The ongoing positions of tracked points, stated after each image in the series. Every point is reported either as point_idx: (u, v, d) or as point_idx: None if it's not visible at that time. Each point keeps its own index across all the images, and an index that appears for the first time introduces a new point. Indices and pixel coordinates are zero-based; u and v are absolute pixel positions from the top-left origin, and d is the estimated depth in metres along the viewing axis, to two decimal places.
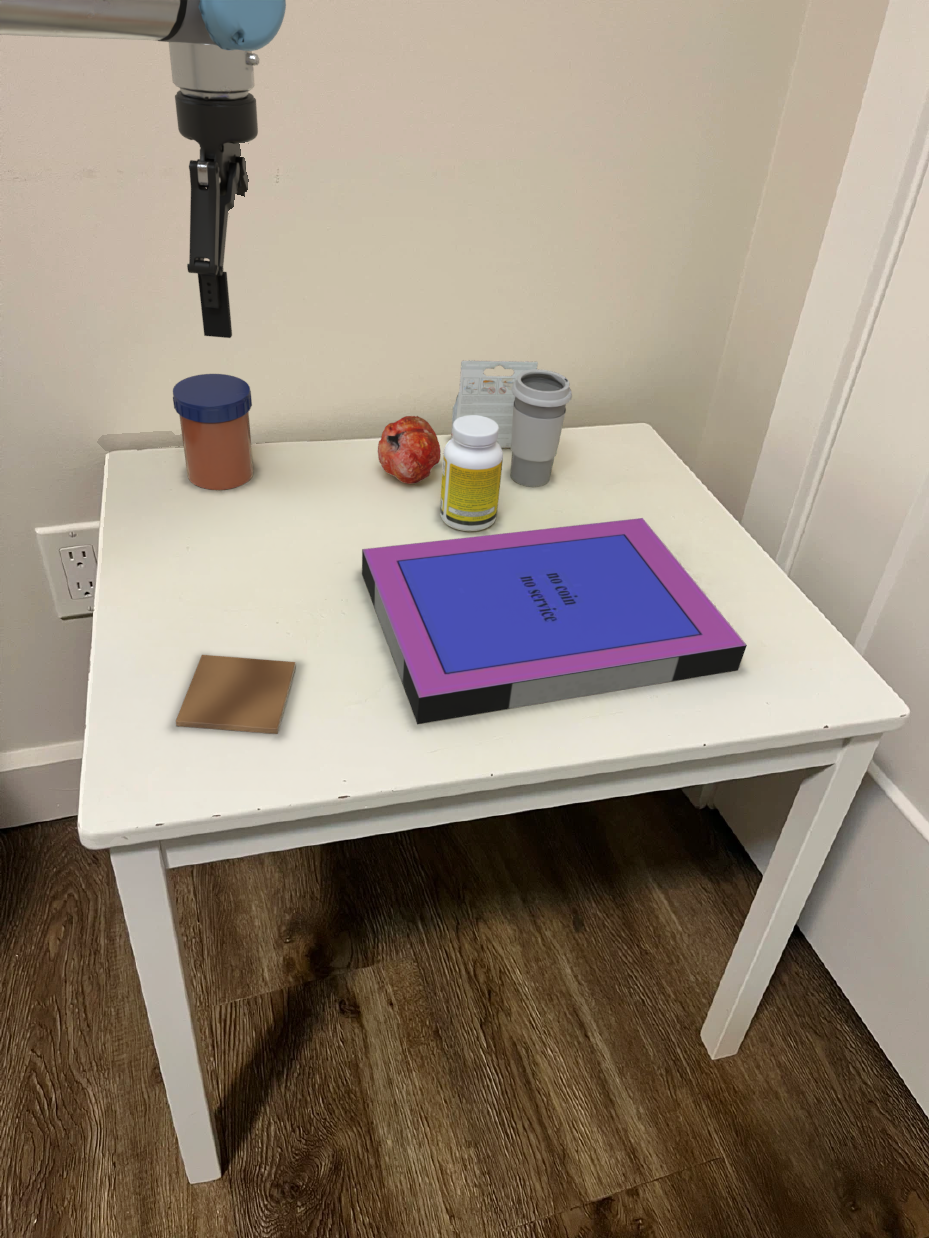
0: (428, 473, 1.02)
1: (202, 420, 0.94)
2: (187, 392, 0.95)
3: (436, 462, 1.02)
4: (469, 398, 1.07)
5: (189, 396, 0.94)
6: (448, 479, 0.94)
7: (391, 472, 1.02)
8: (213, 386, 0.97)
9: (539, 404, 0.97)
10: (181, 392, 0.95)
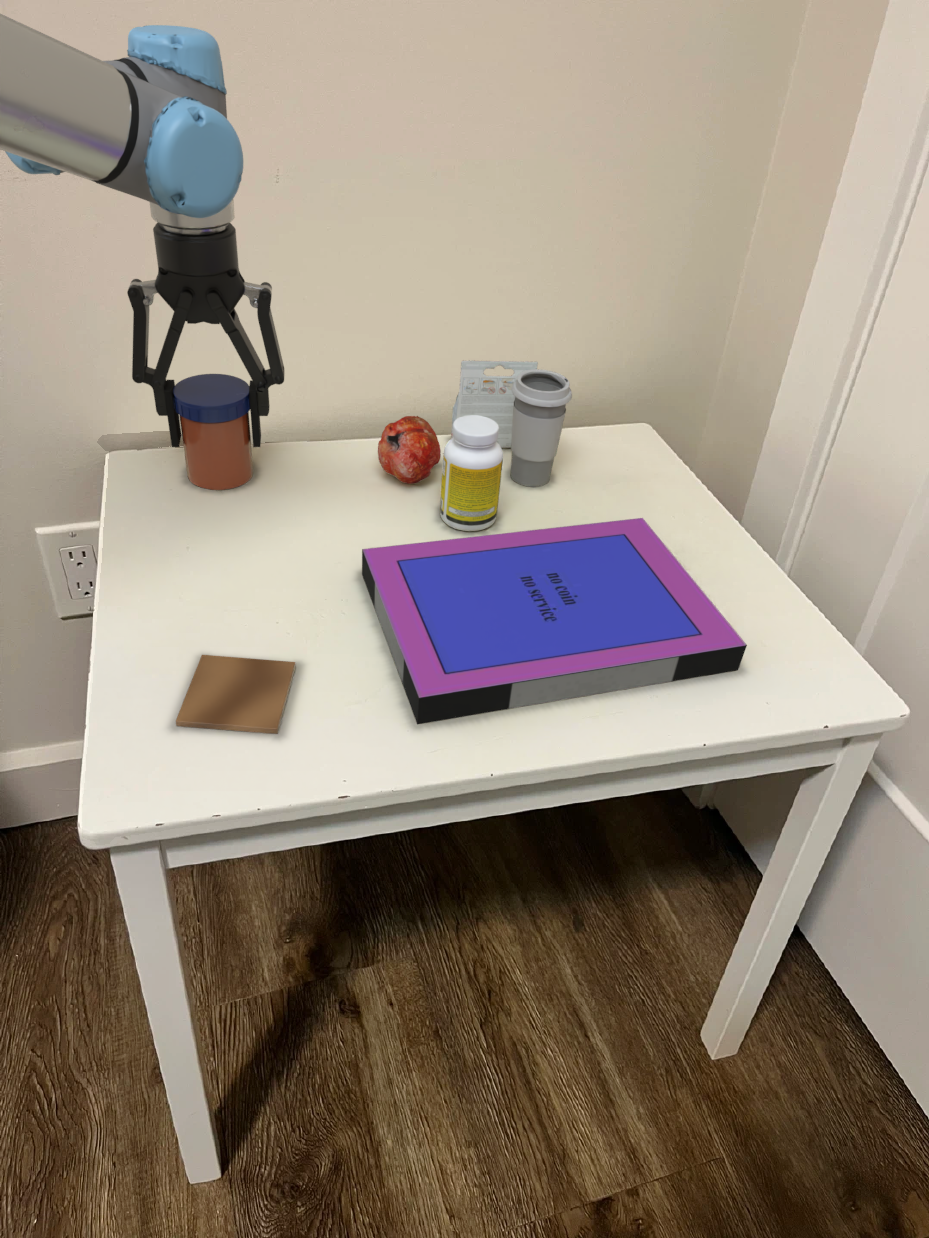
0: (428, 473, 1.02)
1: (202, 420, 0.94)
2: (187, 392, 0.95)
3: (436, 462, 1.02)
4: (469, 398, 1.07)
5: (189, 396, 0.94)
6: (448, 479, 0.94)
7: (391, 472, 1.02)
8: (213, 386, 0.97)
9: (539, 404, 0.97)
10: (181, 392, 0.95)
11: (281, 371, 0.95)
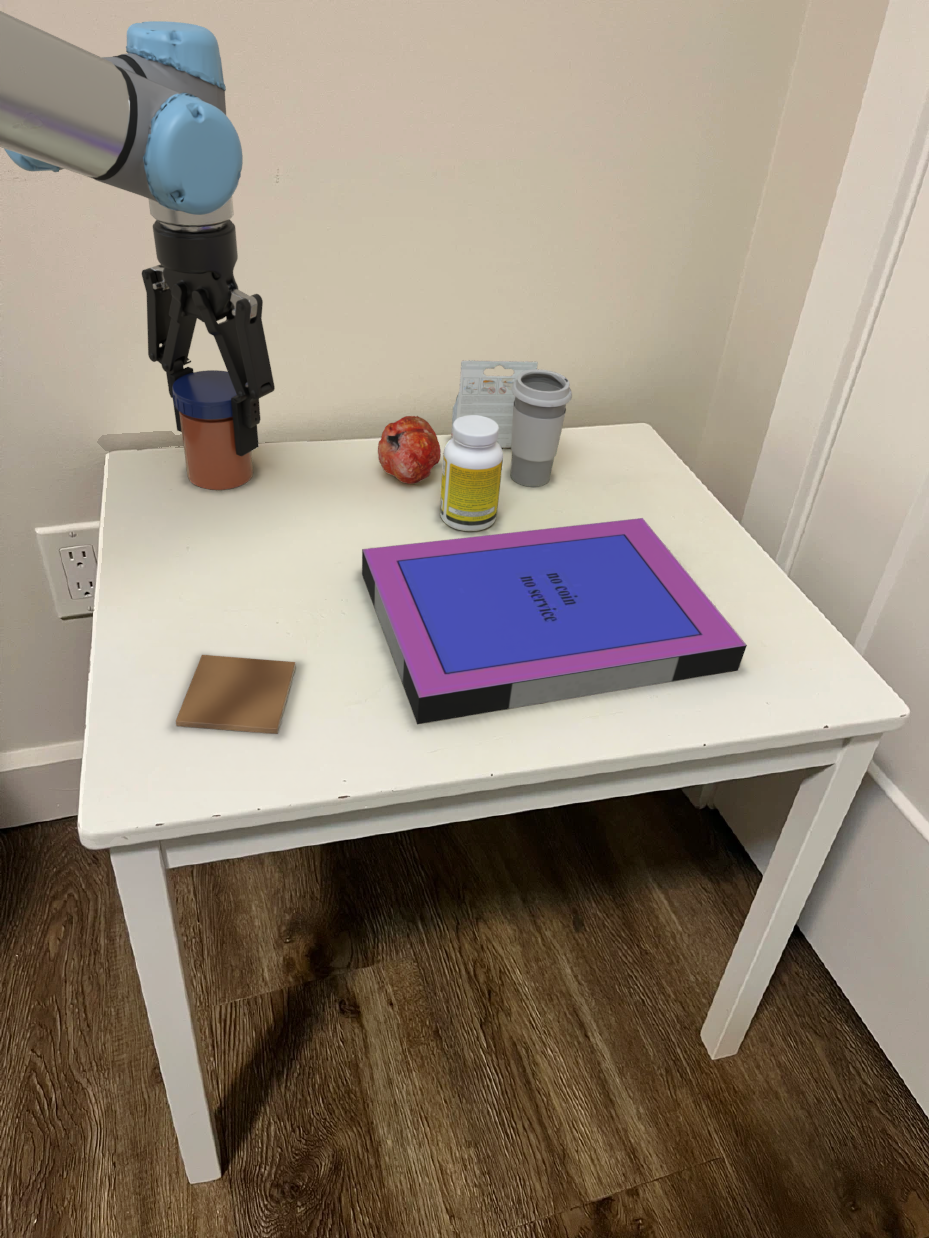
0: (428, 473, 1.02)
1: None
2: (234, 389, 0.95)
3: (436, 462, 1.02)
4: (469, 398, 1.07)
5: None
6: (448, 479, 0.94)
7: (391, 472, 1.02)
8: (205, 387, 0.95)
9: (539, 404, 0.97)
10: None
11: None
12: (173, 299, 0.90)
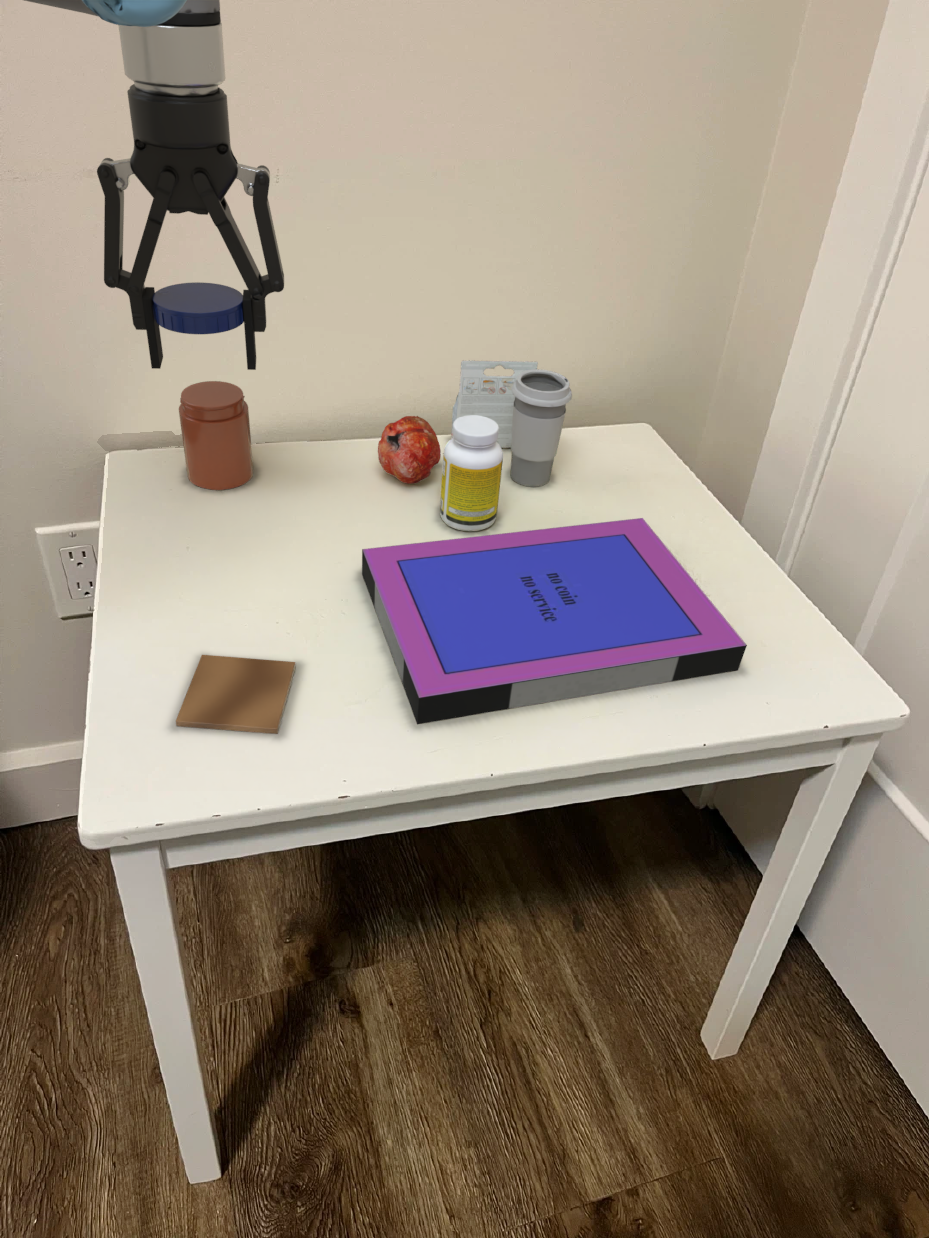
0: (428, 473, 1.02)
1: None
2: (226, 294, 0.83)
3: (436, 462, 1.02)
4: (469, 398, 1.07)
5: (223, 291, 0.83)
6: (448, 479, 0.94)
7: (391, 472, 1.02)
8: (196, 299, 0.81)
9: (539, 404, 0.97)
10: (233, 294, 0.83)
11: None
12: (157, 193, 0.74)
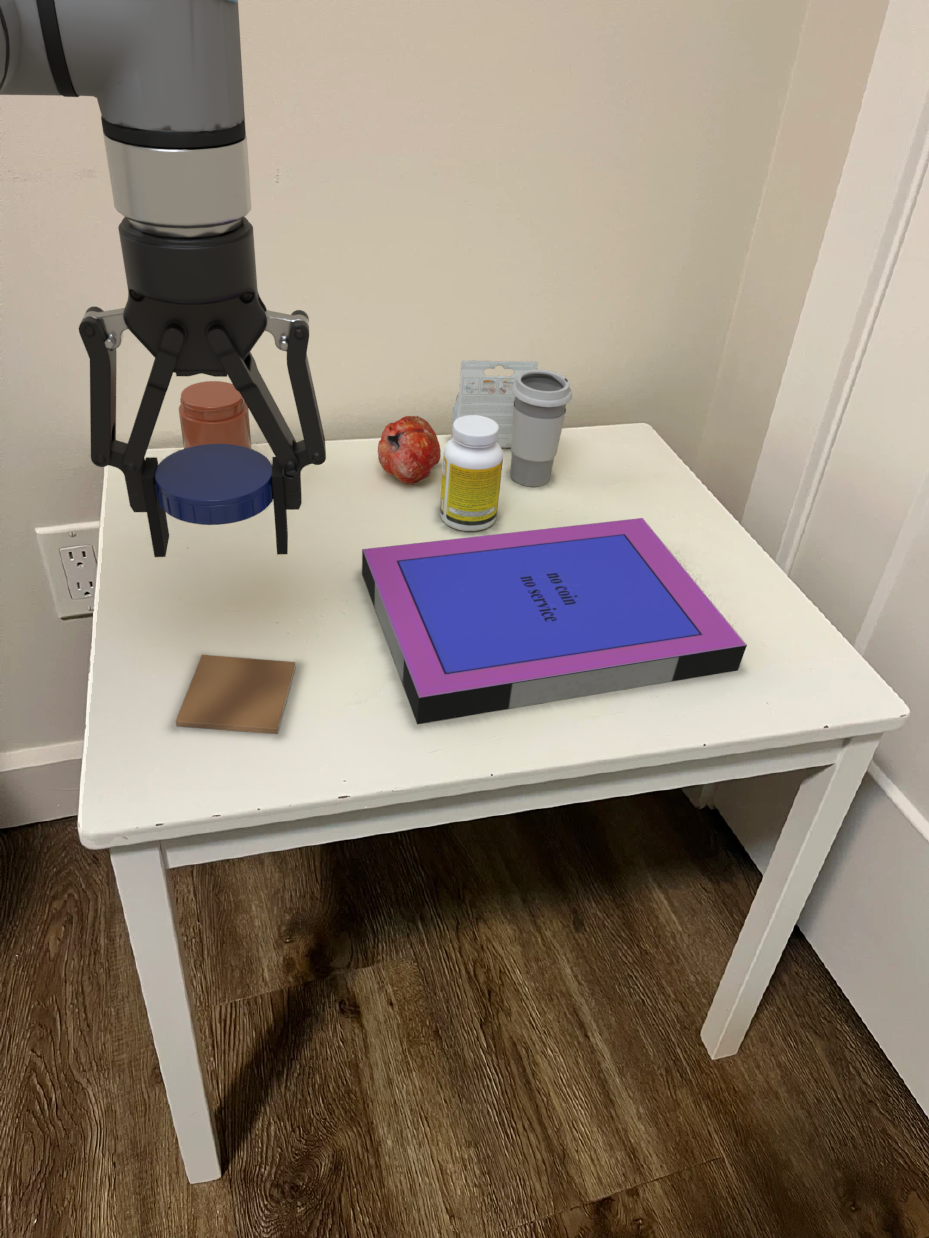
0: (428, 473, 1.02)
1: None
2: (250, 464, 0.64)
3: (436, 462, 1.02)
4: (469, 398, 1.07)
5: (246, 458, 0.64)
6: (448, 479, 0.94)
7: (391, 472, 1.02)
8: (211, 475, 0.62)
9: (539, 404, 0.97)
10: (259, 464, 0.64)
11: None
12: (160, 354, 0.55)
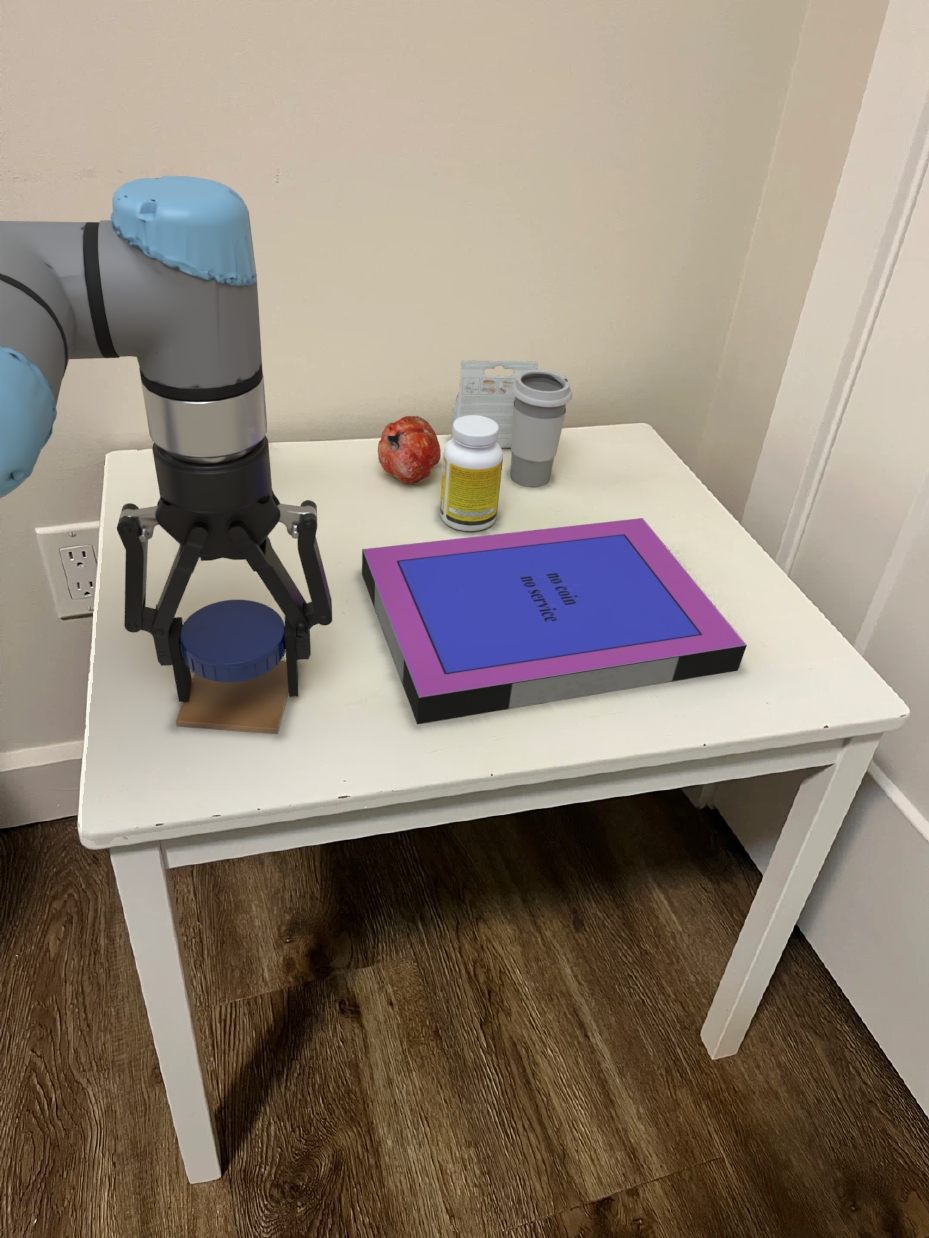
0: (428, 473, 1.02)
1: None
2: (264, 622, 0.72)
3: (436, 462, 1.02)
4: (469, 398, 1.07)
5: (261, 615, 0.72)
6: (448, 479, 0.94)
7: (391, 472, 1.02)
8: (230, 635, 0.70)
9: (539, 404, 0.97)
10: (272, 622, 0.72)
11: None
12: (187, 546, 0.63)
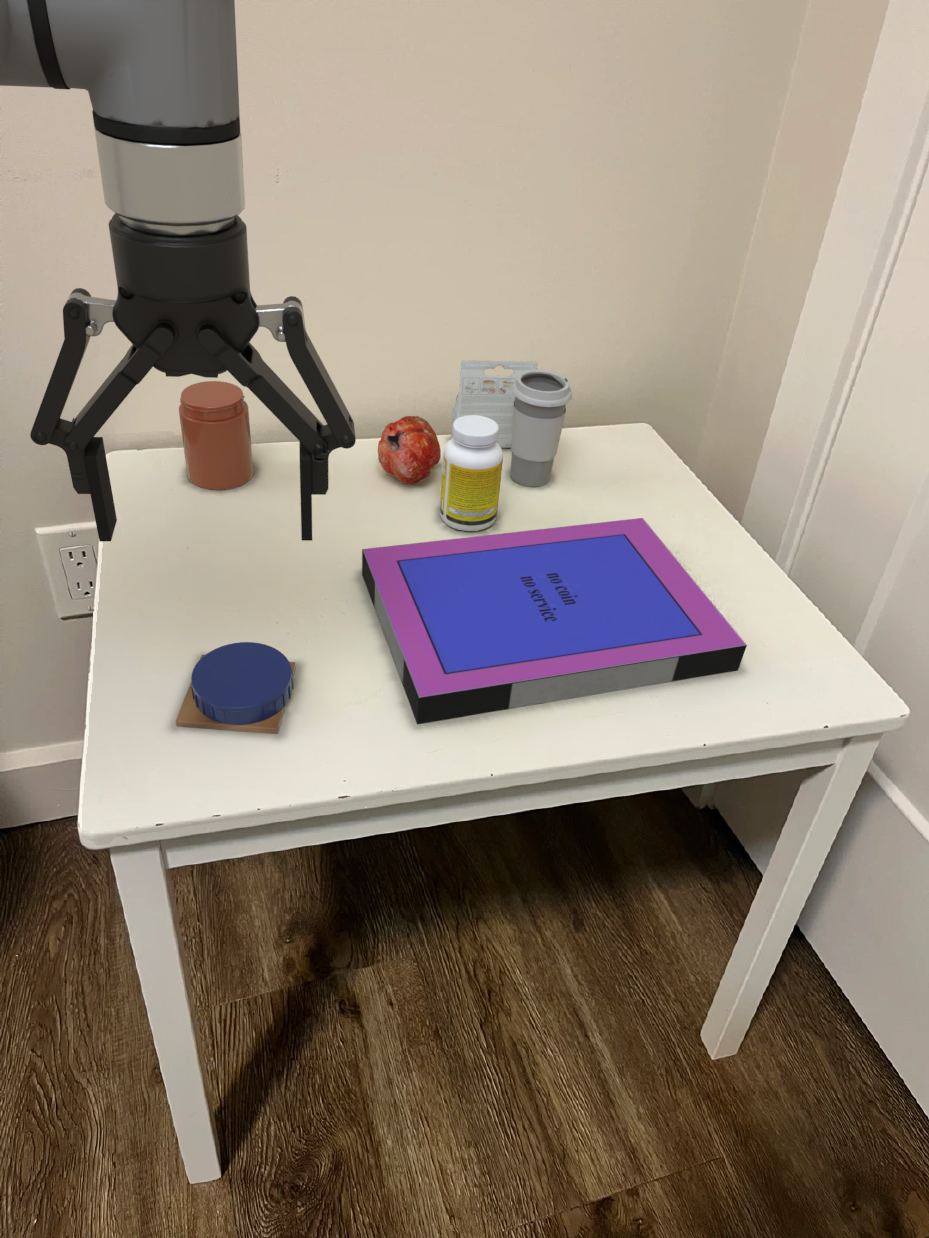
0: (428, 473, 1.02)
1: None
2: (272, 665, 0.75)
3: (436, 462, 1.02)
4: (469, 398, 1.07)
5: (269, 658, 0.75)
6: (448, 479, 0.94)
7: (391, 472, 1.02)
8: (239, 679, 0.73)
9: (539, 404, 0.97)
10: (279, 665, 0.75)
11: None
12: (144, 348, 0.54)
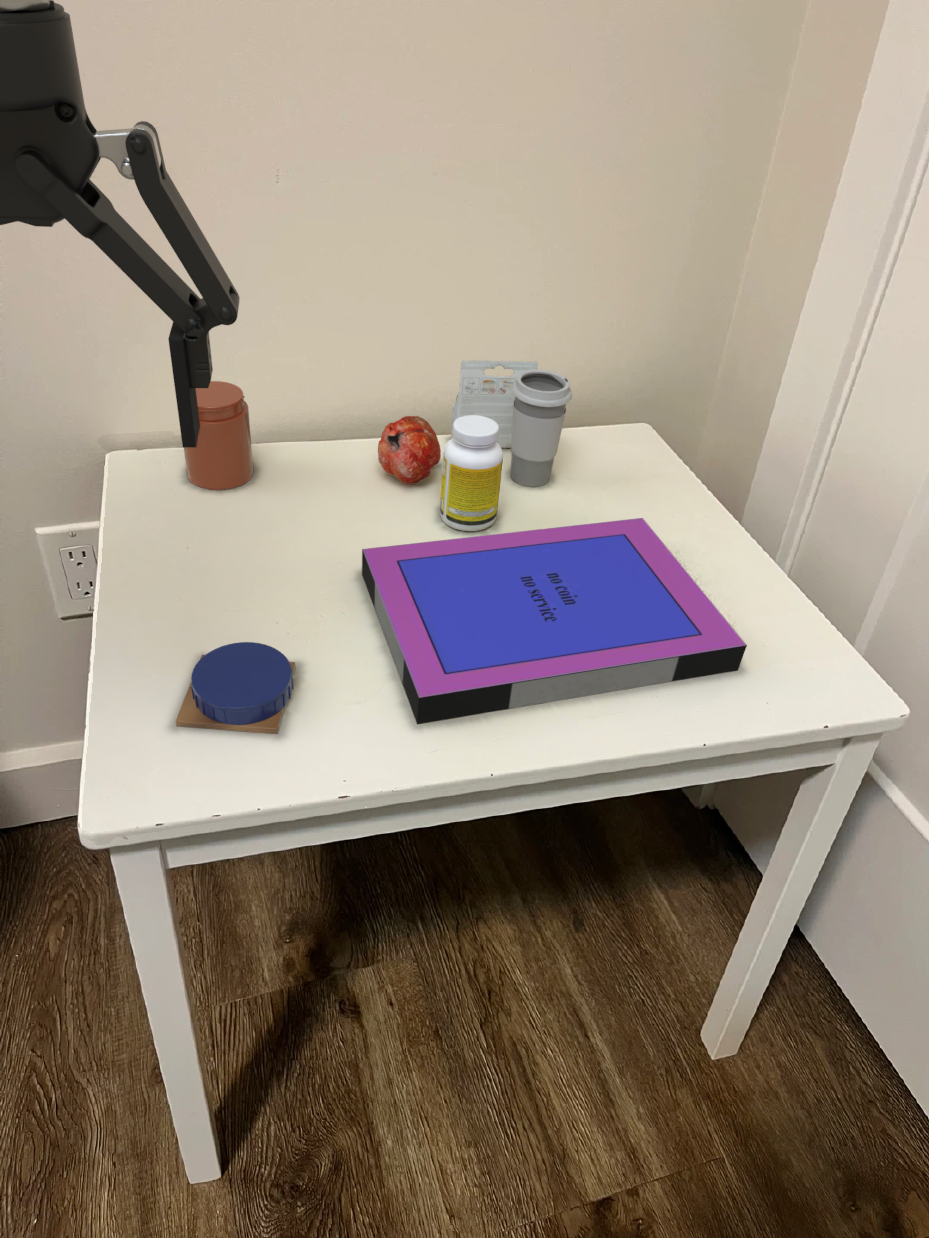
0: (428, 473, 1.02)
1: None
2: (272, 665, 0.75)
3: (436, 462, 1.02)
4: (469, 398, 1.07)
5: (269, 658, 0.75)
6: (448, 479, 0.94)
7: (391, 472, 1.02)
8: (239, 679, 0.73)
9: (539, 404, 0.97)
10: (279, 665, 0.75)
11: None
12: None
